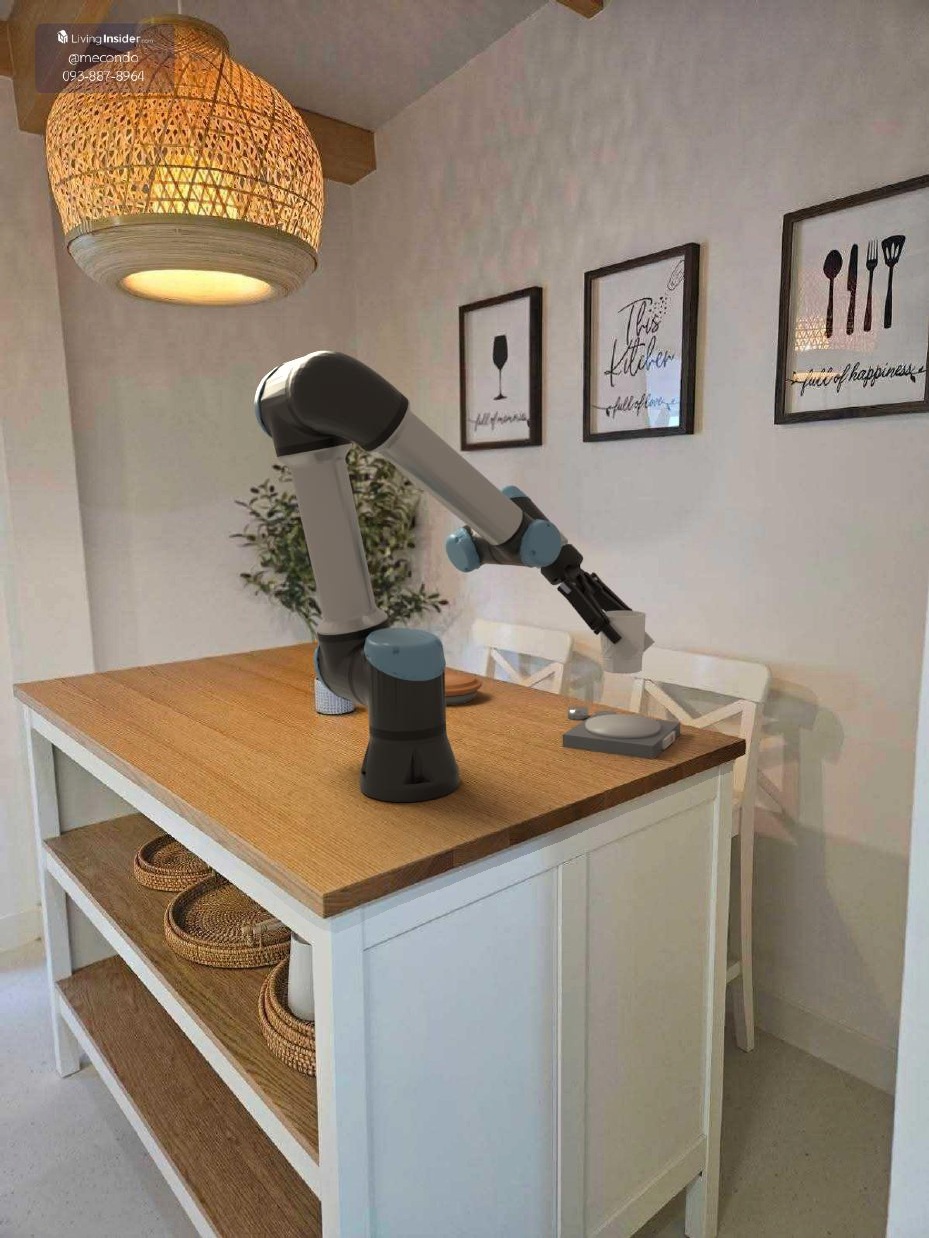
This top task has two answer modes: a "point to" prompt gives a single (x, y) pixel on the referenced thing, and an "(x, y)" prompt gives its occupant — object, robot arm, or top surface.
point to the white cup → (635, 630)
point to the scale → (622, 735)
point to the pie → (460, 688)
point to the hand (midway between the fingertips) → (641, 651)
